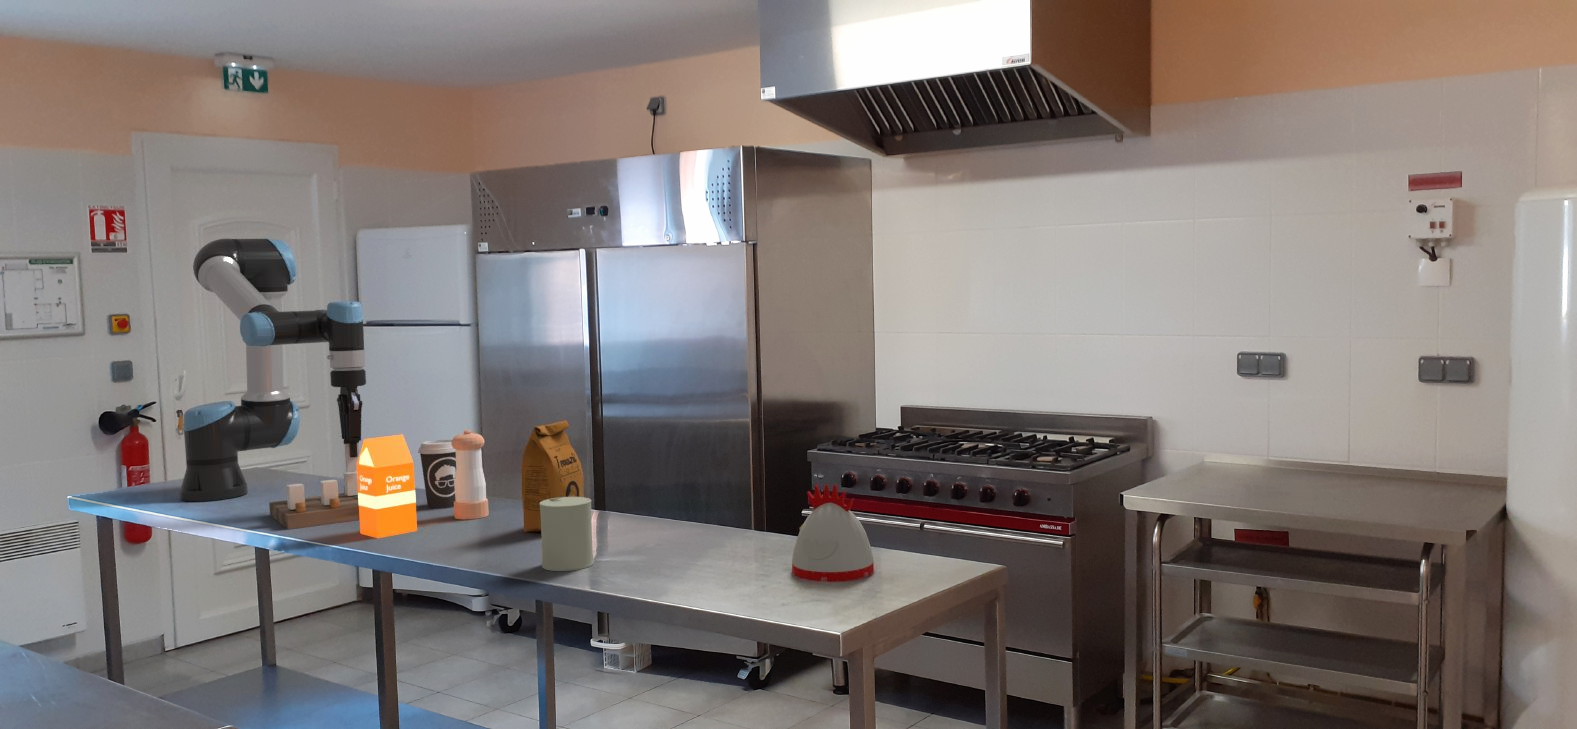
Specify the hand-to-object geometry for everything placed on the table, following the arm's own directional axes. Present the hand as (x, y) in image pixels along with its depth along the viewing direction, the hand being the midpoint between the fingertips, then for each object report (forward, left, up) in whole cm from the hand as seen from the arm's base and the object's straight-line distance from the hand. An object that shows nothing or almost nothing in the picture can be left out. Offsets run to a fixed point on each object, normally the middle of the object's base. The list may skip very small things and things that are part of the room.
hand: (353, 470), depth 259 cm
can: (+82, +16, -9) cm, 85 cm away
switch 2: (+6, -7, -6) cm, 11 cm away
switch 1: (+7, -14, -6) cm, 16 cm away
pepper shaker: (+27, +18, -9) cm, 33 cm away
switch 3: (-2, 0, -6) cm, 6 cm away
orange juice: (+31, -1, -9) cm, 32 cm away
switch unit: (+2, -7, -9) cm, 12 cm away
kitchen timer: (+118, +49, -9) cm, 128 cm away
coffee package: (+51, +27, -9) cm, 59 cm away
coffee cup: (+10, +17, -9) cm, 22 cm away
